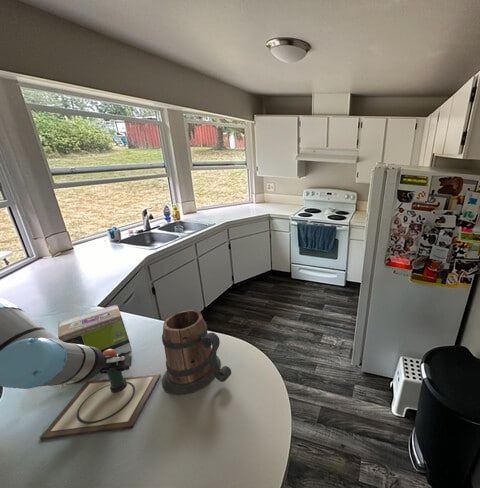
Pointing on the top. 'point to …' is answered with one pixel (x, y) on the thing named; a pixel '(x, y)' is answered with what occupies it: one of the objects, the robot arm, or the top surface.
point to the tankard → (190, 354)
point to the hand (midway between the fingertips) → (120, 366)
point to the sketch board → (102, 407)
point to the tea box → (97, 330)
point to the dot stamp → (115, 375)
